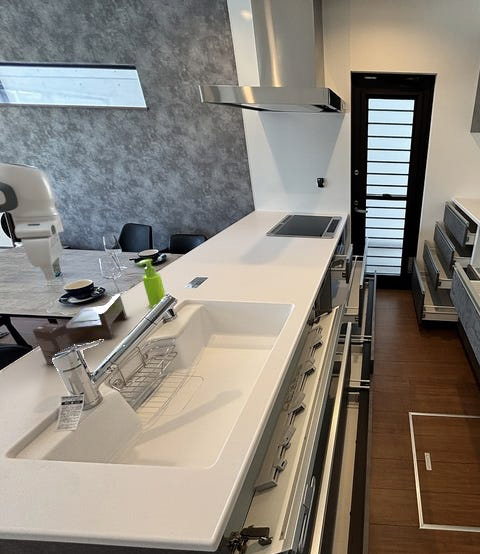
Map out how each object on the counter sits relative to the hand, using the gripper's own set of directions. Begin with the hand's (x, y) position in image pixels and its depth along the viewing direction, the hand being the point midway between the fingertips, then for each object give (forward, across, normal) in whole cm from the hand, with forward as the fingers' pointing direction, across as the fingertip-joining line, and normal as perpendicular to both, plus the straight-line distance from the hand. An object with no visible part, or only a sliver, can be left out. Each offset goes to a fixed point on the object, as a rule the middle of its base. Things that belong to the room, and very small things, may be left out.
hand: (54, 274), depth 87 cm
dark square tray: (+25, -14, +5) cm, 29 cm away
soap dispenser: (+23, -23, +23) cm, 40 cm away
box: (+27, +1, -3) cm, 27 cm away
